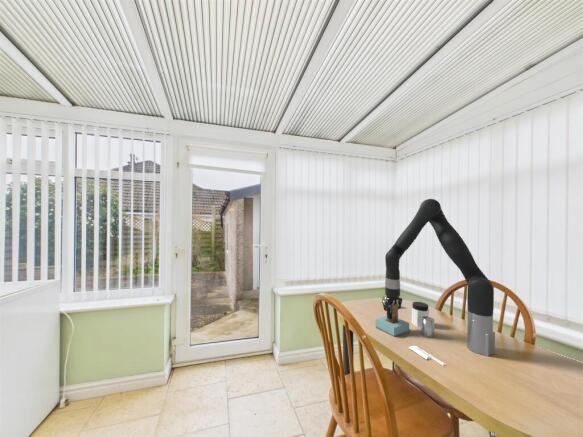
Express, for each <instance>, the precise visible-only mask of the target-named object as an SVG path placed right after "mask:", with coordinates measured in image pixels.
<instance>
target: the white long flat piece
mask: <svg viewBox="0 0 583 437" xmlns="http://www.w3.org/2000/svg"><path fill="white" fill-rule="evenodd" d="M408 349H410V350H411V351H413V352H414V353H415V354H417V355H418V356H420V357H422V358H424V359H425V360H431V359H432V360H434V361H436V363H439V364H440V365H441V366H443V367H444V366H447V364H446V363H445V362H443V361H441V360H440V359H439V358H436V357H435V356H433V355H432V354H431V353H429V352H427V351H425V350H424V349H422V348H420V347H418V346H417V345H411V346H409V347H408Z"/></svg>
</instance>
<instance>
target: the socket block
mask: <svg viewBox="0 0 583 437" xmlns="http://www.w3.org/2000/svg"><path fill="white" fill-rule="evenodd" d="M375 328H376V329H377V330H379V331H381V332H383V333H386V334H387V335H389V336H392V337H394V338H395V337H398V336H402V335H405V334H407V333H409V332H410V322H408V321H405V320H404V319H401V318H399V317H398V323H394V324H392V323H390V322H388V321H387V315H385V316H382V317H381V316H380V317H378V318H375Z"/></svg>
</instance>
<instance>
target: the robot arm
mask: <svg viewBox="0 0 583 437" xmlns="http://www.w3.org/2000/svg"><path fill="white" fill-rule="evenodd" d="M427 223H429V224H430V225H431V227H432V228H433V230H434V232H435V234H436V235H435V236H436V237H437V240H438V241H439V244H440V246H441V247H442V248H443V250H444V251H445V253H446V255H447V257H449V258H448V259H450V260H451V261H452V263H454V264H455V266H456V267H457V268H458V269H459V270H460V272H461V274H462V276H463V277H464V280H465V281H466V283H467V297H466V298H467V302H466V303H467V310H466V311H467V314H466V315H467V316H466V318H467V320H466V321H467V323H466V324H467V325H466V326H467V327H466V331H467V332H466V347H467V349H468V350H470V351H471V352H473V353H476V354H479V355H484V356H485V357H490V356H492V355H494V354H496V352H495V351H496V350H495V349H496V348H495V347H496V346H495V344H496V332H495V331H494V309H495V308H494V305H495V304H494V302H495V299H494V298H495V297H494V296H495V295H494V294H495V290H494V285H493V283H492V281H491V280H489V278H488V277H487V276H486V275H485V274H484V272H483V271H482V270H481V269H480V267H479V266H478V264H477V262H476V261H475V259H474V256H473V255H472V252H471V250H470V249H469V247H468V245H467V244H466V243H465V241H464V240H463V237H461V235H460V233H458V232H457V230H456V229H455V228H454V227H453V226H452V225H451V223H450V222H449V221H448V218H447V217H446V216H445V214H444V212H443V210H442V206H441V204H440V202H439V200H437V199H434V198H428V199H424V200H423V201H422V202H421V203H420V206H419V208H418V210H417V212H416V214H415V215H414V217H413V218H412V220H411V221H410V223H409V224H408V225H407V227H406V228H405V229H404V230H403V231H402V233H401V234H400V235H399V237H398V238H397V239H396V241H395V243H394V244H393V245H392V247H391V248H390V249H389V250H388V251H387V252H386V254H385V257H384V258H385V259H384V260H385V269H386V270H385V282H384V284H385V285H384V286H385V288H384V294H385V297H386V300H385V301H383V300H382V301H381V303H382V306H383V311H385V312H386V316H387V318H388V319H392V313H391V312H392V308H393V305H394V304H399V306H398V310H401V307H402V305H403V304H402V303H403V298H402V297H401V281H400V280H401V271H400V260H401V258H402V256H403V255H404V253H406V251H407V250H409V248H410V247H411V246H412V245H413V243H414V242H415V240H416V239H417V237H418V236H419V234H420V233H421V231H422V230H423V229H424V227H425V226H426V225H427ZM388 304H389V305H391V306H389V305H388ZM389 308H390V310H389ZM493 353H494V354H493ZM491 354H492V355H491Z"/></svg>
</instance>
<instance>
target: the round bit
mask: <svg viewBox="0 0 583 437" xmlns="http://www.w3.org/2000/svg"><path fill="white" fill-rule="evenodd" d="M420 328H421V331H420V332H421V333H420V334H421V336H422V337H423V338H426V339H427V338H428V339H434V338H435V319H434V318H433V317H430V316H429V317H426V316H424V317H421V327H420Z"/></svg>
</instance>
